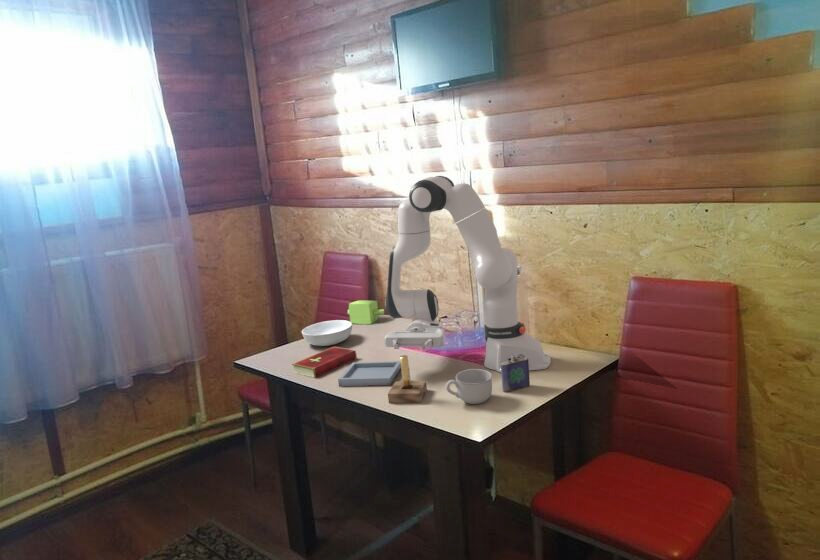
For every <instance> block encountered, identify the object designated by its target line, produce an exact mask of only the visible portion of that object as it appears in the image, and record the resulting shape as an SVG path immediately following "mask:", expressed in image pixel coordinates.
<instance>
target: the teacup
mask: <svg viewBox="0 0 820 560" xmlns="http://www.w3.org/2000/svg"><path fill="white" fill-rule="evenodd" d="M492 381H493V375H492V373H491V372H490V371H488V370H485V369H483V368H482V369H481V368H469V369H465V370H461V371H459V372H458V373H456V374H455V379H449V380H448V381H447V382H446V383H445V390H446V391H447V392H448V393H449V394H451V395H453V396H455V397H456V398H457V399H460V400H462V401H463V402H464V403H466V404H469V405H480V404H483V403H485V402H486V401H487V400H489V399H490V397H491V396H492V394H493V393H492V392H493V382H492ZM453 384H454V385H455V387H456V391H453V390H452V389H451V388H450V387H451V385H453Z"/></svg>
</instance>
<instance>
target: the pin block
mask: <svg viewBox="0 0 820 560" xmlns="http://www.w3.org/2000/svg"><path fill="white" fill-rule="evenodd" d="M394 381H395V382H394V383H393V385H392V386H391V388H390V389H389V391H388V393H387V398H388V403H389V404H404V403H405V404H412V403H413V404H414V403H415V404H417V403H418V404H419V403H422V401H423V398H424V396H425V395H426V393H427V390H428V386H427V381H426V380H410V382H411V389H404V388H403V380H402V381H401V380H399V381H396V380H394Z"/></svg>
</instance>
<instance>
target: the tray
mask: <svg viewBox="0 0 820 560" xmlns="http://www.w3.org/2000/svg"><path fill="white" fill-rule="evenodd" d="M399 371H400V372H401V363H400V360H398V361H397V360H395V361H393V360H392V361H361V362H359V361H358V362H352V363H350V365H349V366H348V367H347V368H346V370H344V372H343V373H342V374H341V375H340V376H339V378H338V379H337V380H338V381H337V382H338V387H367V386H368V385H388V386H391V385H392V384H393V383H392V382H394V381H395V380H396V378H397V377H398V375H399V373H400V372H399ZM364 385H365V386H364ZM368 387H369V386H368Z"/></svg>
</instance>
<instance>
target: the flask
mask: <svg viewBox="0 0 820 560" xmlns="http://www.w3.org/2000/svg"><path fill="white" fill-rule="evenodd" d="M511 357H512V358H511V360H510V361H507V362H503V363H501V374H500V375H501V386H502V388H501V390H502V392H504V393H510V392H515V391H518V390H520V389H525V388H530V387H531V386H530V385H531V384H530V383H531V382H530V371H529V363H528V359H527V358H525V357H524V358H522V357H520V358H516V357H515V355H514V354H513V355H511Z"/></svg>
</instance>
